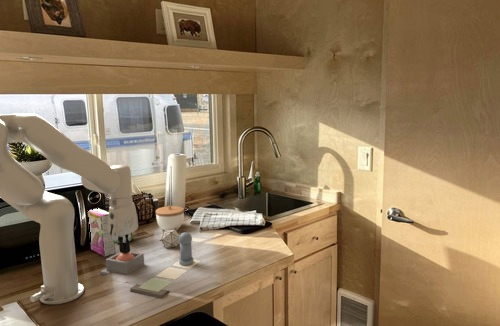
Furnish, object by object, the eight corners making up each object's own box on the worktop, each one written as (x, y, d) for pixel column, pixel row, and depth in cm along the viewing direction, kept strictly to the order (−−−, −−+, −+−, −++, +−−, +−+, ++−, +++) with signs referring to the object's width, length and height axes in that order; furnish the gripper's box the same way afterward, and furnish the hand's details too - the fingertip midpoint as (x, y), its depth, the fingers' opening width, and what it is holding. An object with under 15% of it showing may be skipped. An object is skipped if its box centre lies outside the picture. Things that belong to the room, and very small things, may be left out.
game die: (174, 258, 164) (175, 244, 157) (155, 250, 165) (155, 236, 158) (184, 241, 171) (186, 227, 163) (165, 233, 172) (166, 219, 165)
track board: (161, 298, 125) (161, 294, 125) (130, 291, 130) (130, 287, 130) (208, 263, 150) (208, 260, 150) (180, 258, 155) (180, 255, 155)
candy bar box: (90, 250, 165) (86, 210, 162) (101, 246, 168) (98, 207, 166) (104, 257, 157) (100, 215, 154) (116, 253, 161) (112, 212, 158)
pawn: (188, 266, 145) (187, 235, 143) (176, 264, 147) (175, 234, 145) (196, 261, 149) (194, 231, 147) (184, 259, 151) (183, 229, 149)
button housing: (128, 279, 138) (126, 265, 137) (100, 274, 143) (99, 260, 142) (150, 266, 149) (149, 252, 148) (124, 261, 153) (123, 248, 153)
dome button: (126, 272, 142) (125, 256, 141) (113, 269, 144) (111, 254, 143) (138, 265, 147) (137, 250, 146) (124, 262, 149) (123, 248, 148)
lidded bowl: (190, 228, 189) (189, 204, 188) (168, 235, 180) (167, 211, 178) (172, 223, 197) (171, 200, 196) (151, 229, 188) (149, 206, 186)
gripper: (114, 208, 133) (118, 261, 136) (144, 196, 147) (147, 246, 150) (96, 205, 136) (101, 258, 139) (127, 195, 150) (130, 243, 153)
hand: (125, 252), depth 145 cm, fingers closed
